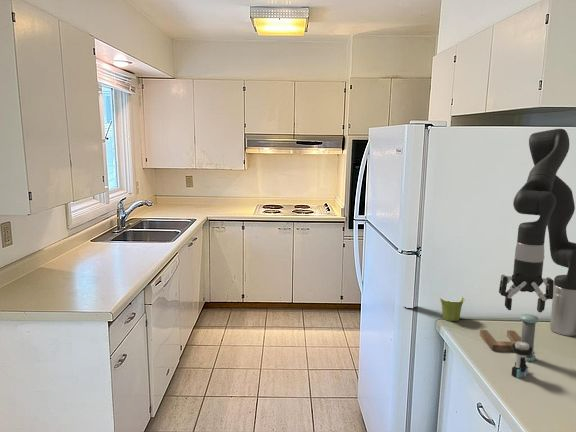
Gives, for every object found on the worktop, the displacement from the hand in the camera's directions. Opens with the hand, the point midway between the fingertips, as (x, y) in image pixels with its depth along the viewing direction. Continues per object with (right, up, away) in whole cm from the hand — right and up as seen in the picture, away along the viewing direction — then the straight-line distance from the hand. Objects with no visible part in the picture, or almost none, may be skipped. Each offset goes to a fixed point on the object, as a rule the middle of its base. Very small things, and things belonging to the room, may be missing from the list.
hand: (523, 310), depth 131 cm
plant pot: (-6, -13, +42) cm, 45 cm away
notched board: (+4, -16, +21) cm, 26 cm away
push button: (-1, -20, 0) cm, 20 cm away
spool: (+6, -18, +10) cm, 21 cm away
